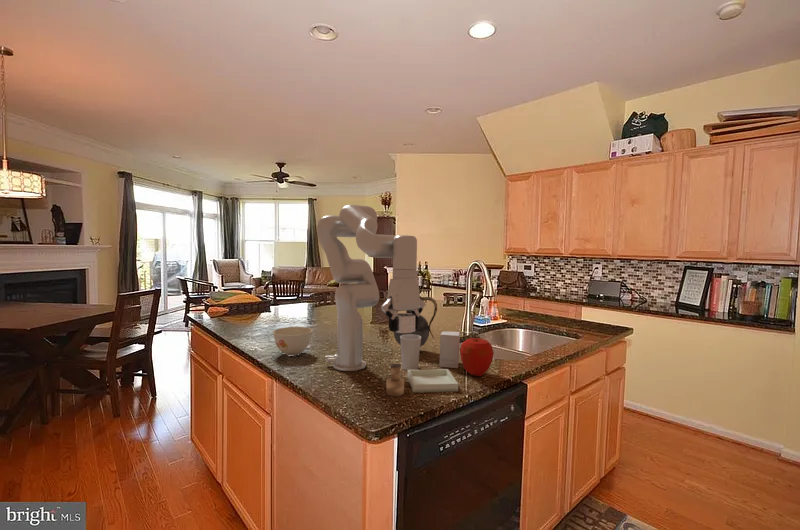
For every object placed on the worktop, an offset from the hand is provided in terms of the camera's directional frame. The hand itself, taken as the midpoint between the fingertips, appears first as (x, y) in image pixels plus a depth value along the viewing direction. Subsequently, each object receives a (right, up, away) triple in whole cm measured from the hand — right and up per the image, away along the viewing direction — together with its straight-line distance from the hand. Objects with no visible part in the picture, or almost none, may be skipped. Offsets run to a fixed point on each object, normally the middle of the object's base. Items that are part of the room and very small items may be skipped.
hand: (403, 329), depth 121 cm
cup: (+3, -19, +24) cm, 31 cm away
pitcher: (+5, -18, +46) cm, 50 cm away
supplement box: (+18, -19, +29) cm, 39 cm away
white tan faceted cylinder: (-3, -20, -1) cm, 20 cm away
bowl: (-46, -17, +39) cm, 63 cm away
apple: (+27, -20, +18) cm, 37 cm away
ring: (0, 0, 0) cm, 0 cm away
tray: (+10, -20, +8) cm, 23 cm away
